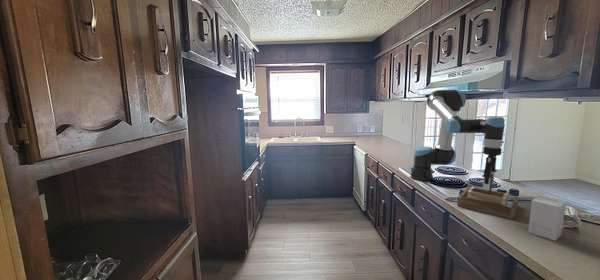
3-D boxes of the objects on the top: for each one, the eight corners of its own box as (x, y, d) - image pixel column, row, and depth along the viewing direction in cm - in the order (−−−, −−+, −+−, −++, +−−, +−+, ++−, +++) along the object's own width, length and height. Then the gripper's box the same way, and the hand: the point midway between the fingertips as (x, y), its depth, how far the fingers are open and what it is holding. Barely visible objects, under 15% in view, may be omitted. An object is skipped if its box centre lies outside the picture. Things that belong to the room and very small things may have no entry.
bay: (466, 195, 156) (467, 186, 156) (517, 205, 140) (518, 196, 139) (457, 205, 141) (458, 196, 140) (513, 219, 124) (514, 208, 123)
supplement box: (562, 235, 110) (567, 202, 107) (555, 241, 105) (560, 207, 103) (534, 226, 117) (539, 195, 115) (527, 232, 112) (531, 199, 110)
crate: (470, 198, 146) (473, 169, 143) (506, 206, 135) (510, 175, 132) (466, 203, 139) (469, 173, 136) (503, 212, 128) (507, 179, 125)
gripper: (498, 151, 121) (493, 194, 124) (504, 144, 138) (500, 182, 142) (479, 149, 126) (474, 190, 129) (487, 143, 143) (483, 179, 147)
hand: (488, 186), depth 135 cm, fingers open, 13 cm apart
